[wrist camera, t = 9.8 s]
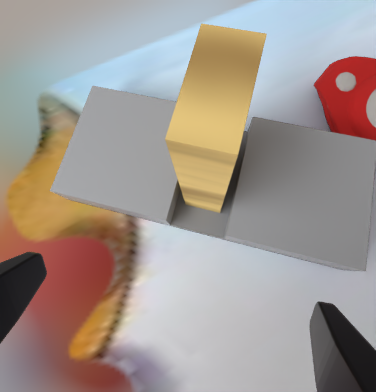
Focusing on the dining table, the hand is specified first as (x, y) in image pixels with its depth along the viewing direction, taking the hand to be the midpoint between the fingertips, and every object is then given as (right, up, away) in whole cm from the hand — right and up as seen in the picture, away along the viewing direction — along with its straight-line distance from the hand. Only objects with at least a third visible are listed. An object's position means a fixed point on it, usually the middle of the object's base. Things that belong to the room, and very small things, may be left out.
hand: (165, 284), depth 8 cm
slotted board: (+3, +4, +15) cm, 16 cm away
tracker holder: (+19, +11, +16) cm, 27 cm away
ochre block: (+3, +5, +14) cm, 15 cm away
